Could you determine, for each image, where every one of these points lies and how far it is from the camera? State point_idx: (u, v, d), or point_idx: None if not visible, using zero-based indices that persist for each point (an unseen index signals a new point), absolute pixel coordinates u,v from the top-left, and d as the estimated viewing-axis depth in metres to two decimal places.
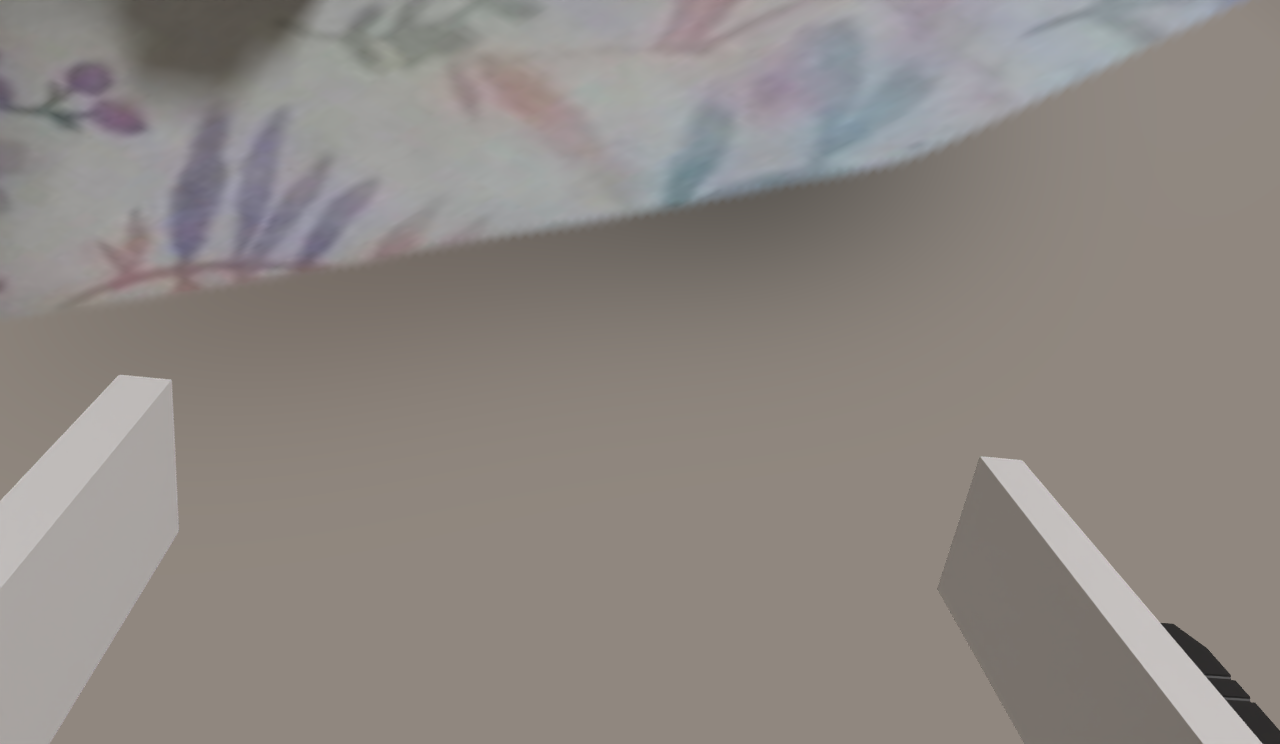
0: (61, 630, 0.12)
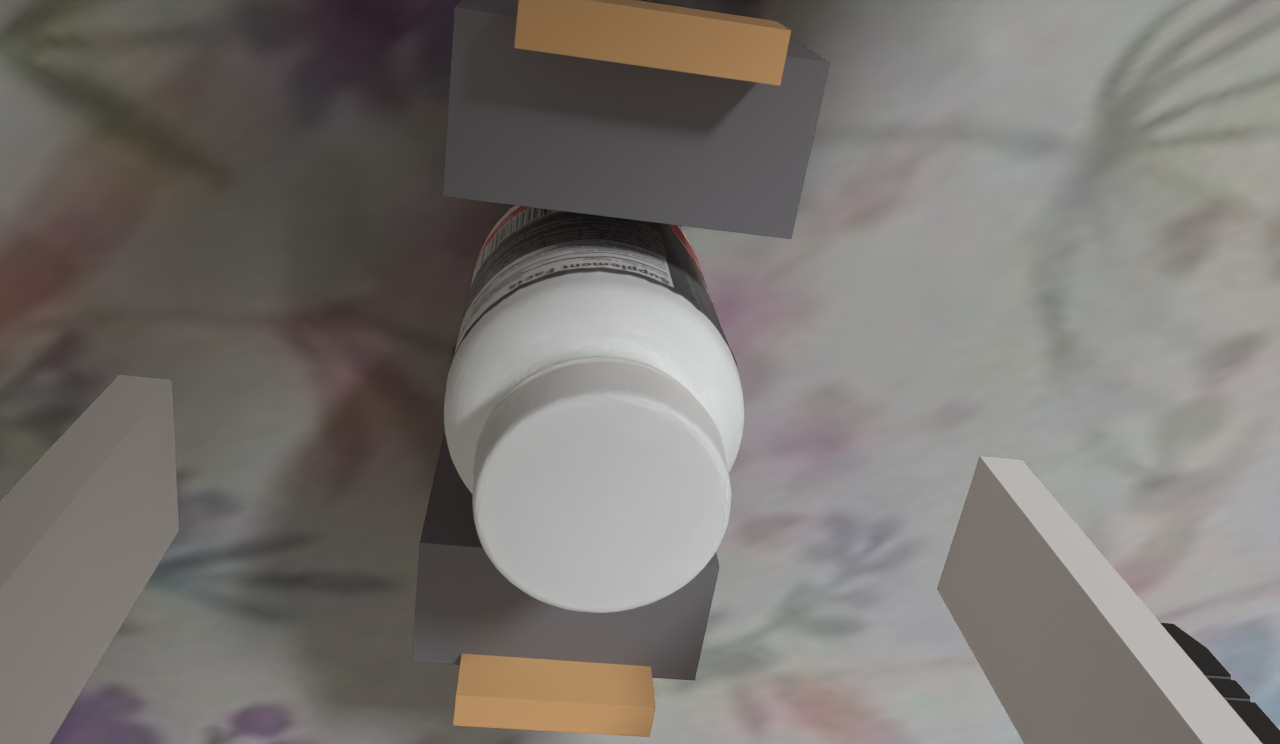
0: (60, 630, 0.12)
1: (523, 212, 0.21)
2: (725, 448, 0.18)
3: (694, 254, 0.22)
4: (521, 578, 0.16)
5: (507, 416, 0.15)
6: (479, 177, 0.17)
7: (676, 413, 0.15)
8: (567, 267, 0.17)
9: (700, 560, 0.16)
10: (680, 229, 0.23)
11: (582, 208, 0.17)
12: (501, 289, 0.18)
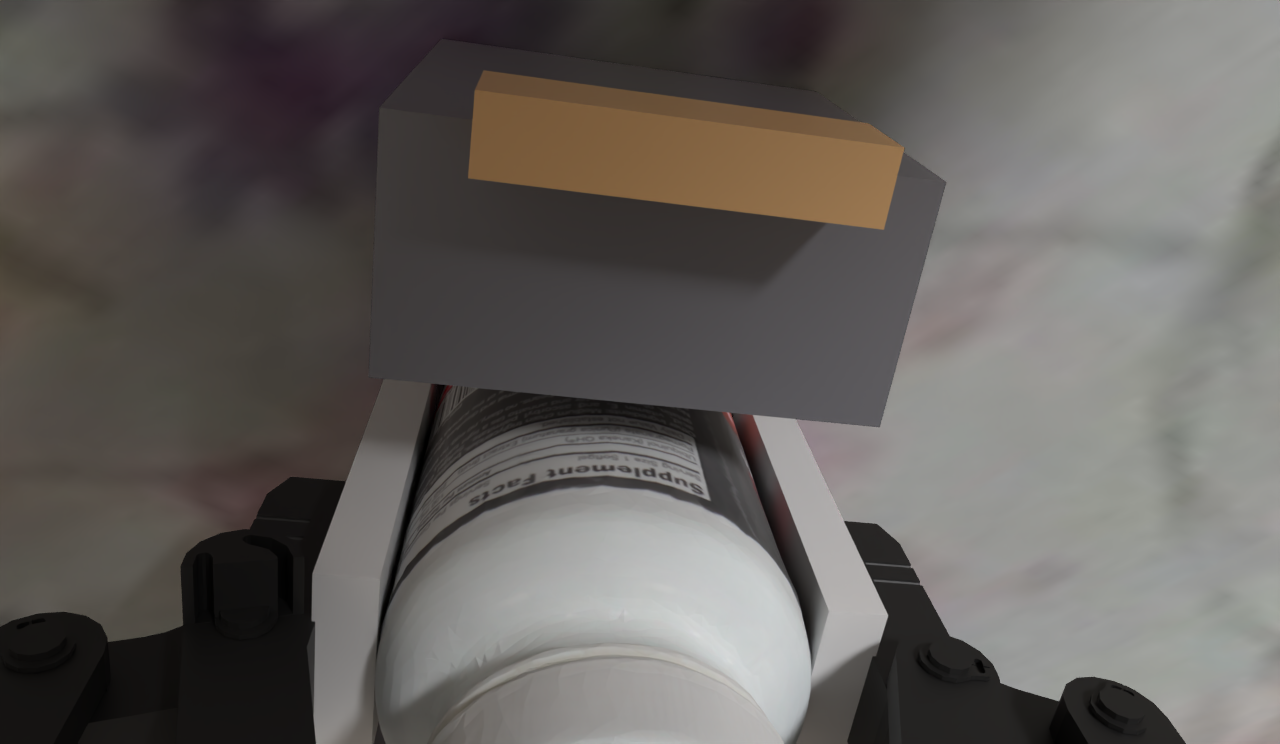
0: None
1: None
2: (786, 735, 0.12)
3: None
4: None
5: None
6: (423, 350, 0.11)
7: None
8: (554, 476, 0.12)
9: None
10: None
11: (576, 391, 0.12)
12: (459, 501, 0.12)
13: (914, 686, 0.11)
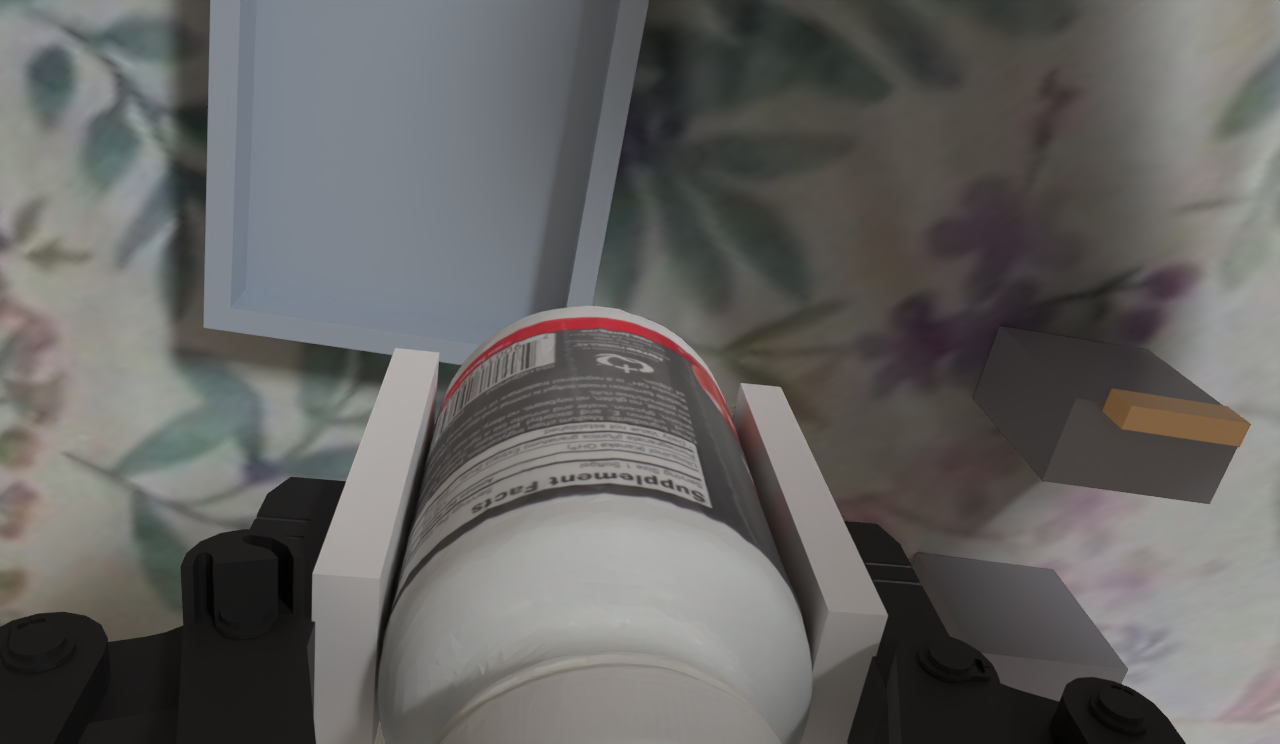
0: None
1: (498, 357, 0.16)
2: (788, 741, 0.12)
3: (725, 405, 0.17)
4: None
5: None
6: (1063, 472, 0.32)
7: None
8: (557, 483, 0.12)
9: None
10: (706, 369, 0.17)
11: (1109, 487, 0.33)
12: (462, 508, 0.12)
13: (914, 687, 0.11)
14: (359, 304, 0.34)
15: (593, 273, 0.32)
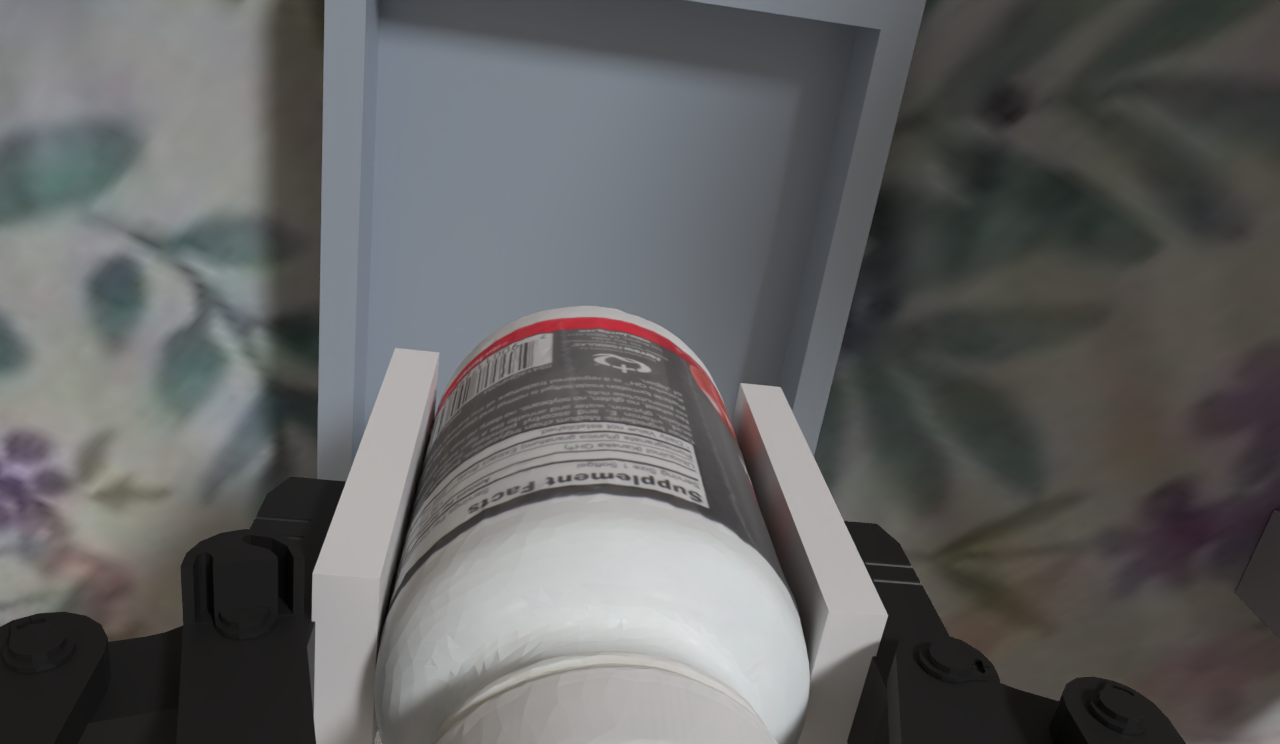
0: None
1: (496, 357, 0.16)
2: (785, 742, 0.12)
3: (723, 405, 0.17)
4: None
5: None
6: None
7: None
8: (553, 483, 0.12)
9: None
10: (703, 369, 0.17)
11: None
12: (458, 508, 0.12)
13: (915, 687, 0.11)
14: None
15: None
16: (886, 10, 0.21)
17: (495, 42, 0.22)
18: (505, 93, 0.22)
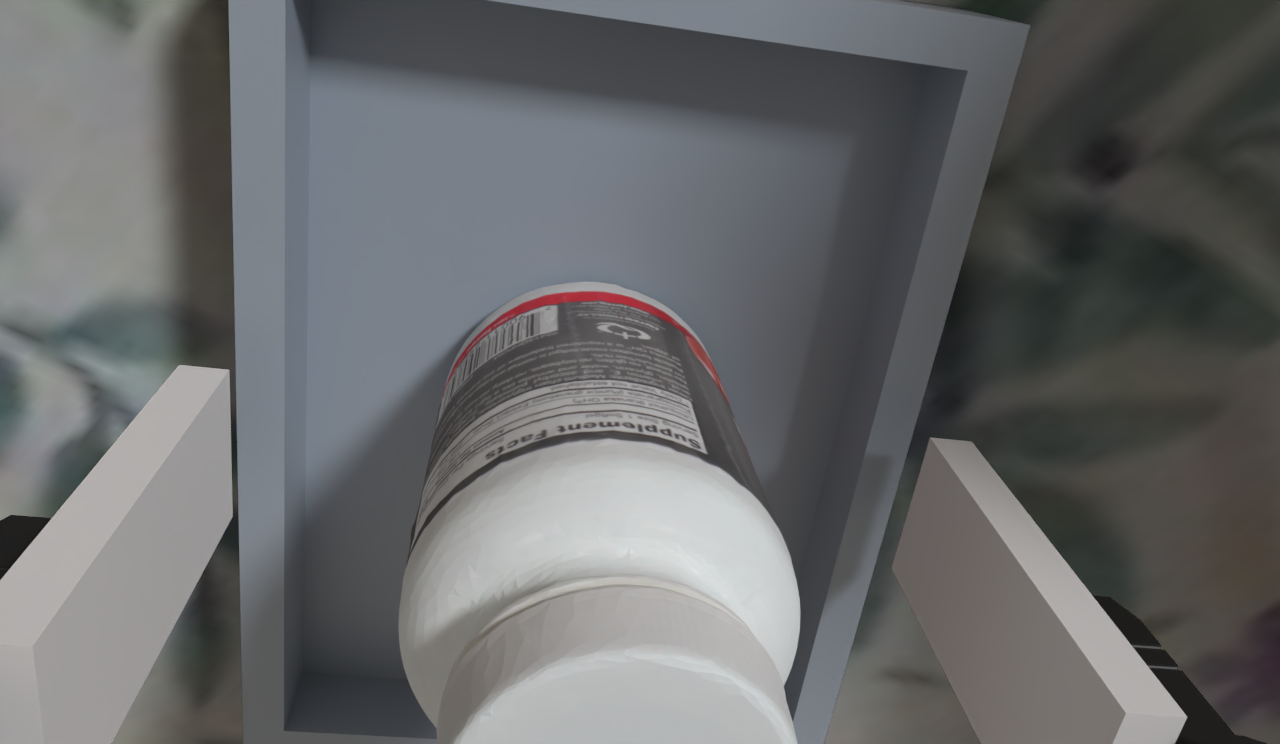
0: (137, 607, 0.13)
1: (504, 327, 0.17)
2: (778, 669, 0.13)
3: (717, 374, 0.18)
4: None
5: (484, 674, 0.10)
6: None
7: (726, 673, 0.10)
8: (564, 430, 0.13)
9: None
10: (698, 341, 0.18)
11: None
12: (476, 456, 0.13)
13: None
14: None
15: (844, 647, 0.20)
16: (976, 46, 0.16)
17: (462, 85, 0.17)
18: (476, 149, 0.17)
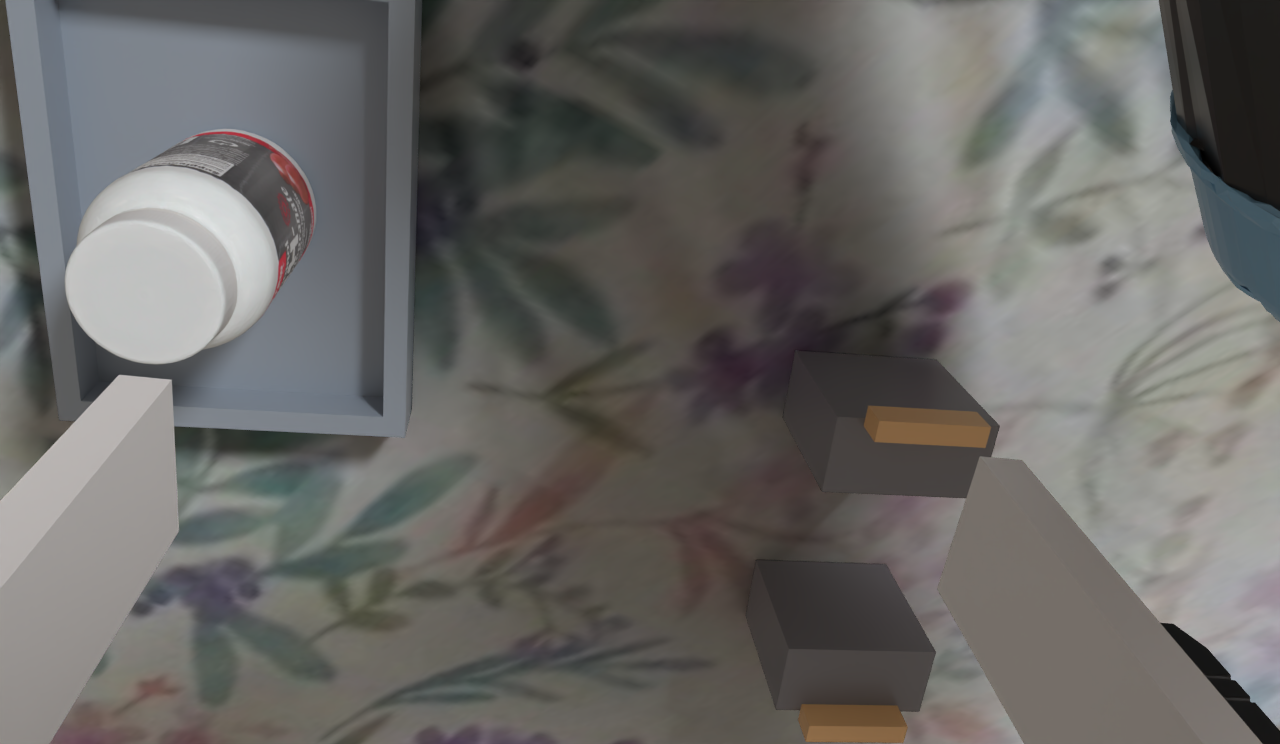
0: (61, 631, 0.12)
1: None
2: (255, 274, 0.28)
3: (295, 175, 0.33)
4: (103, 341, 0.26)
5: (82, 239, 0.26)
6: (839, 482, 0.36)
7: (176, 232, 0.26)
8: (150, 165, 0.28)
9: (212, 328, 0.27)
10: (290, 160, 0.34)
11: (884, 492, 0.36)
12: None
13: None
14: (204, 385, 0.37)
15: (403, 341, 0.36)
16: None
17: (142, 22, 0.32)
18: (155, 57, 0.33)
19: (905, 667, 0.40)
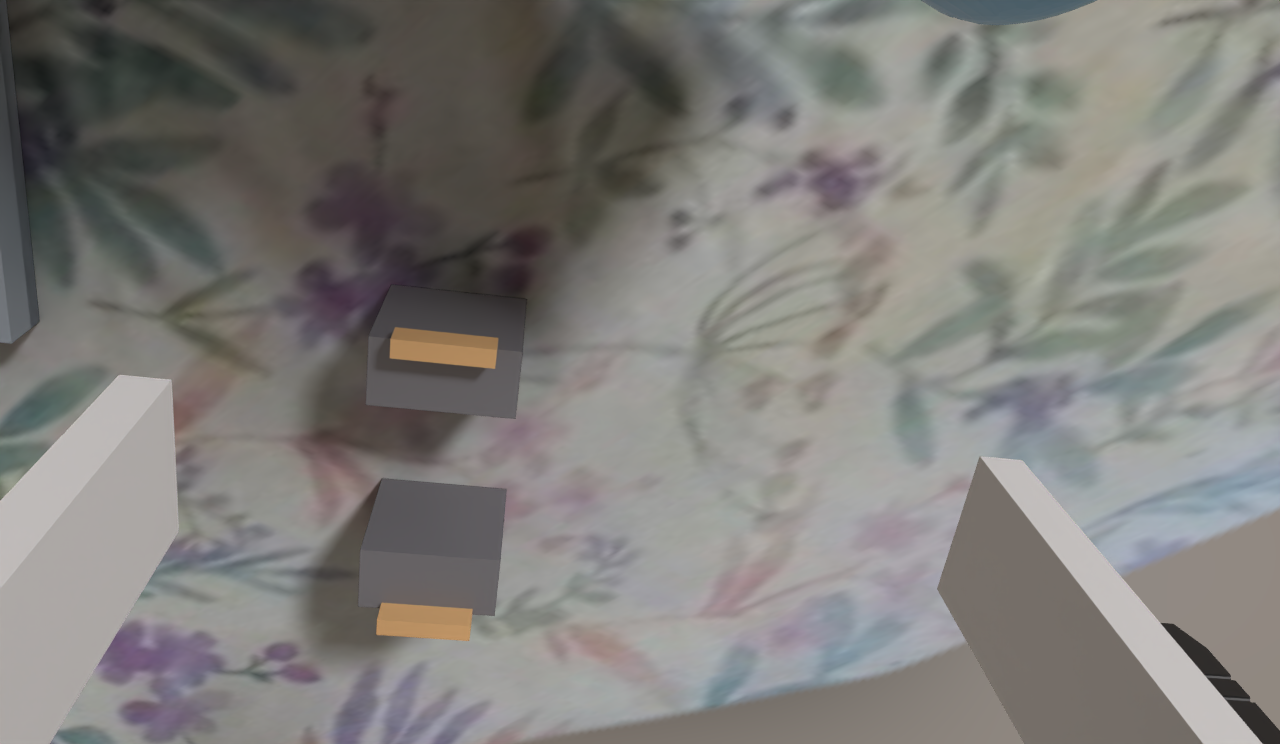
0: (61, 631, 0.12)
1: None
2: None
3: None
4: None
5: None
6: (381, 397, 0.40)
7: None
8: None
9: None
10: None
11: (424, 408, 0.41)
12: None
13: None
14: None
15: None
16: None
17: None
18: None
19: (474, 573, 0.44)
